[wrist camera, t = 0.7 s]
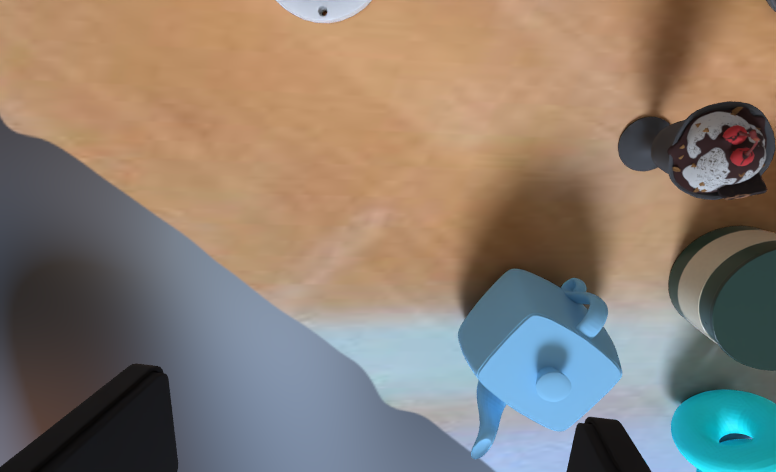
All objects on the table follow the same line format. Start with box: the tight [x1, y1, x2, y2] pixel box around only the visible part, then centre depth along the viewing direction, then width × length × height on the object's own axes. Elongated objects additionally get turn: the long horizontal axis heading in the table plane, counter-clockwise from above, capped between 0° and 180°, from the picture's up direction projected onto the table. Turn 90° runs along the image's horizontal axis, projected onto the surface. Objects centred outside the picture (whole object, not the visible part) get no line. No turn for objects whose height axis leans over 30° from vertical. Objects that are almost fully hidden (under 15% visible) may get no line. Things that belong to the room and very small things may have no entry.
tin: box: [669, 226, 776, 371], centre depth 36 cm, size 11×11×7 cm
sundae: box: [618, 101, 775, 200], centre depth 30 cm, size 7×7×15 cm
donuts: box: [671, 389, 776, 472], centre depth 39 cm, size 10×10×10 cm
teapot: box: [458, 269, 622, 459], centre depth 38 cm, size 12×18×12 cm
